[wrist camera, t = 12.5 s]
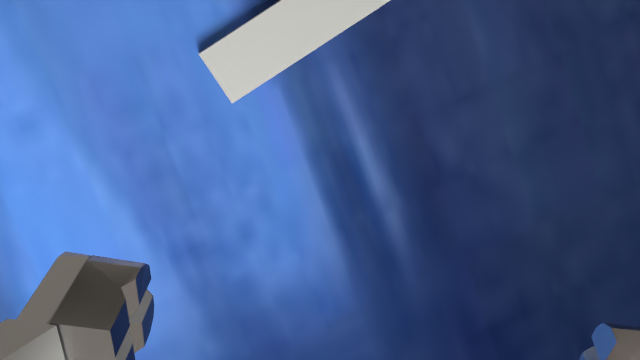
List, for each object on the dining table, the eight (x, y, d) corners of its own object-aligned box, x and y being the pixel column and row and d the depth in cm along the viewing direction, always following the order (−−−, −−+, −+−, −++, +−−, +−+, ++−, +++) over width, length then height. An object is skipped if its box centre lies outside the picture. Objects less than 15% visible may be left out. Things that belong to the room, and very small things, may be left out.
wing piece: (358, -52, 31) (363, -54, 30) (385, -1, 32) (391, -1, 31) (198, 52, 31) (198, 54, 30) (231, 99, 32) (232, 103, 31)
